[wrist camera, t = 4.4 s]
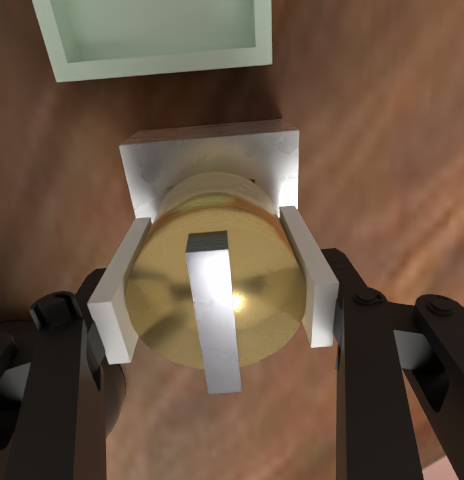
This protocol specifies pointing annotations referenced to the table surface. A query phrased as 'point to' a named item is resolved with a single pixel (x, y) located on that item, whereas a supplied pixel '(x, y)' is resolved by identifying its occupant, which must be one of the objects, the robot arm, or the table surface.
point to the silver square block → (212, 159)
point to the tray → (153, 36)
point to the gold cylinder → (216, 279)
